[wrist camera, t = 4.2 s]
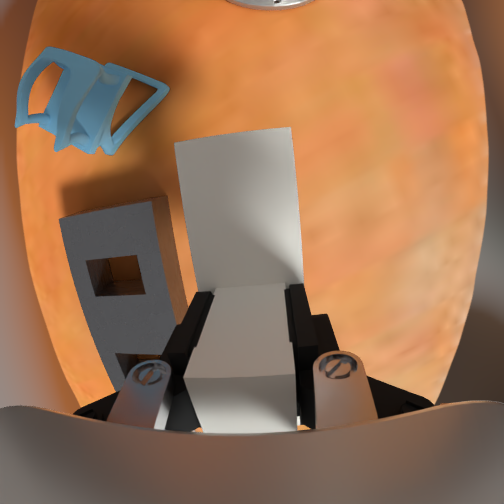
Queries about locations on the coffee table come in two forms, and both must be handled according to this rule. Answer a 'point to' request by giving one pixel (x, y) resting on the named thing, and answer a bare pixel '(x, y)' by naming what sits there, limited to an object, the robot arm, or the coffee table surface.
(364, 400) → the robot arm
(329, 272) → the coffee table surface
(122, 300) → the slotted plate
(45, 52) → the chair
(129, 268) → the coffee table surface
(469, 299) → the coffee table surface
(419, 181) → the coffee table surface
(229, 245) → the white stepped block
